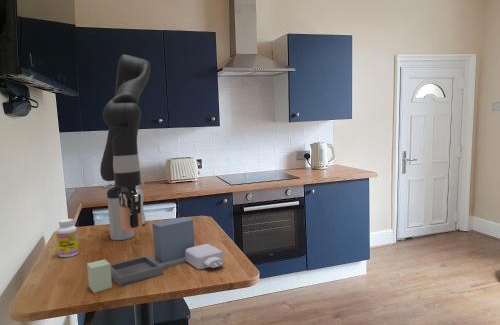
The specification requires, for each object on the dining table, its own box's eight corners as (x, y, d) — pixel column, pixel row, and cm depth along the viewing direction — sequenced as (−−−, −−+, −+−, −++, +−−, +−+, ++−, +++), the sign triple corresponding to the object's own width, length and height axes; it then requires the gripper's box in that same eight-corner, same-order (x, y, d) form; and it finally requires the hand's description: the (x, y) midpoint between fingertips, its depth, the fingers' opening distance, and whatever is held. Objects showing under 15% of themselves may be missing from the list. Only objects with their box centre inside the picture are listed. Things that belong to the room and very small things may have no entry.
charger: (206, 276, 111) (185, 262, 124) (233, 269, 117) (210, 256, 129) (205, 261, 111) (184, 248, 123) (232, 254, 116) (209, 242, 128)
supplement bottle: (57, 259, 133) (53, 223, 131) (60, 253, 139) (57, 219, 138) (77, 256, 134) (74, 221, 133) (80, 250, 141) (77, 217, 140)
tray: (107, 273, 117) (106, 265, 117) (147, 262, 125) (146, 255, 124) (120, 286, 107) (119, 278, 106) (163, 274, 114) (162, 266, 114)
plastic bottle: (148, 223, 177) (144, 181, 175) (142, 227, 171) (139, 183, 169) (134, 223, 178) (131, 181, 176) (128, 227, 171) (125, 184, 169)
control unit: (149, 260, 127) (147, 222, 126) (187, 250, 135) (184, 215, 134) (161, 268, 119) (159, 228, 118) (200, 257, 127) (198, 220, 126)
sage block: (89, 287, 107) (86, 263, 107) (107, 282, 110) (105, 259, 110) (93, 293, 103) (91, 268, 103) (112, 287, 106) (110, 263, 106)
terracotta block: (120, 228, 115) (118, 205, 114) (136, 225, 118) (134, 203, 117) (126, 231, 111) (124, 208, 110) (142, 228, 114) (140, 205, 113)
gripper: (147, 170, 109) (152, 227, 111) (131, 167, 121) (135, 219, 122) (122, 173, 105) (126, 232, 106) (107, 169, 116) (111, 223, 118)
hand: (131, 225), depth 114 cm, fingers closed on terracotta block, 5 cm apart
